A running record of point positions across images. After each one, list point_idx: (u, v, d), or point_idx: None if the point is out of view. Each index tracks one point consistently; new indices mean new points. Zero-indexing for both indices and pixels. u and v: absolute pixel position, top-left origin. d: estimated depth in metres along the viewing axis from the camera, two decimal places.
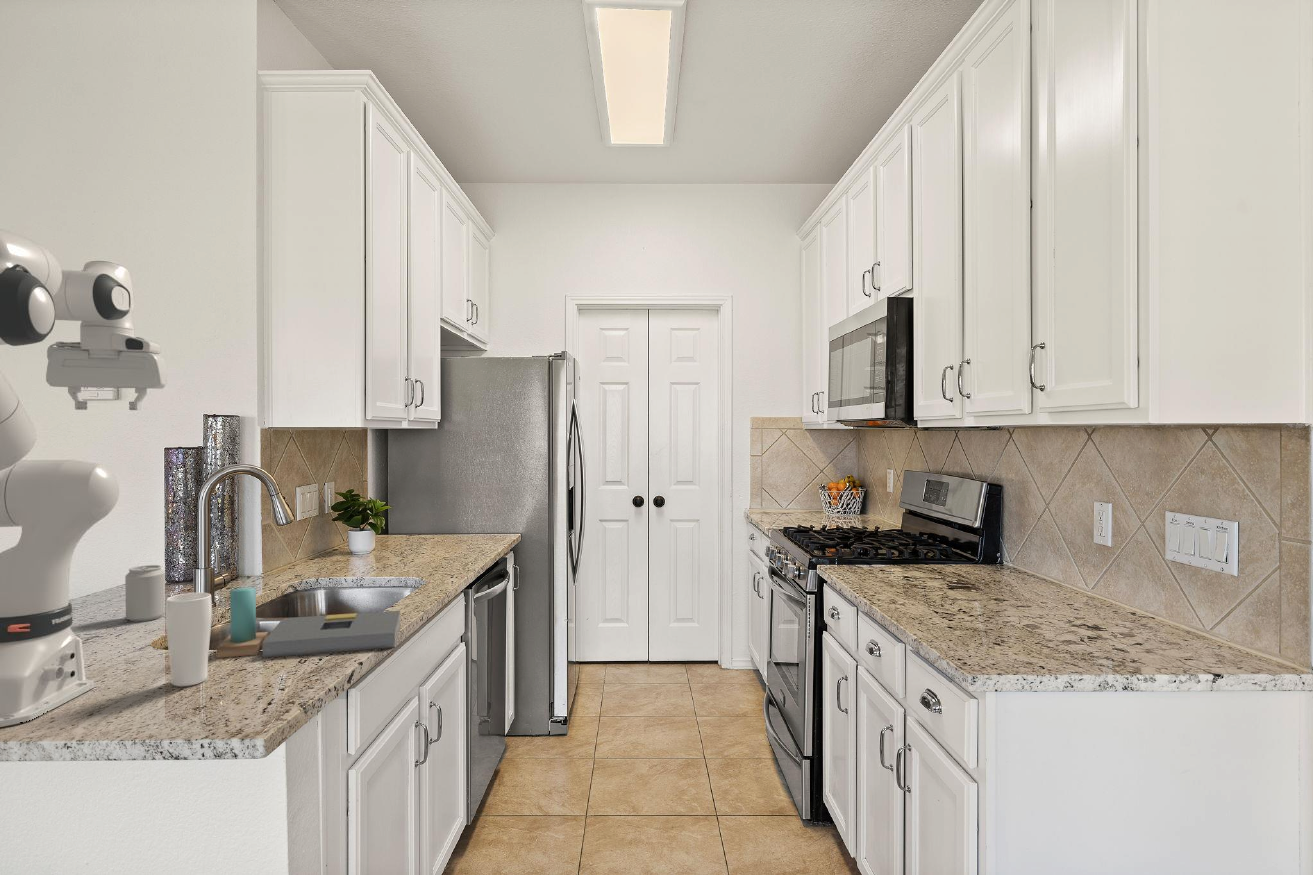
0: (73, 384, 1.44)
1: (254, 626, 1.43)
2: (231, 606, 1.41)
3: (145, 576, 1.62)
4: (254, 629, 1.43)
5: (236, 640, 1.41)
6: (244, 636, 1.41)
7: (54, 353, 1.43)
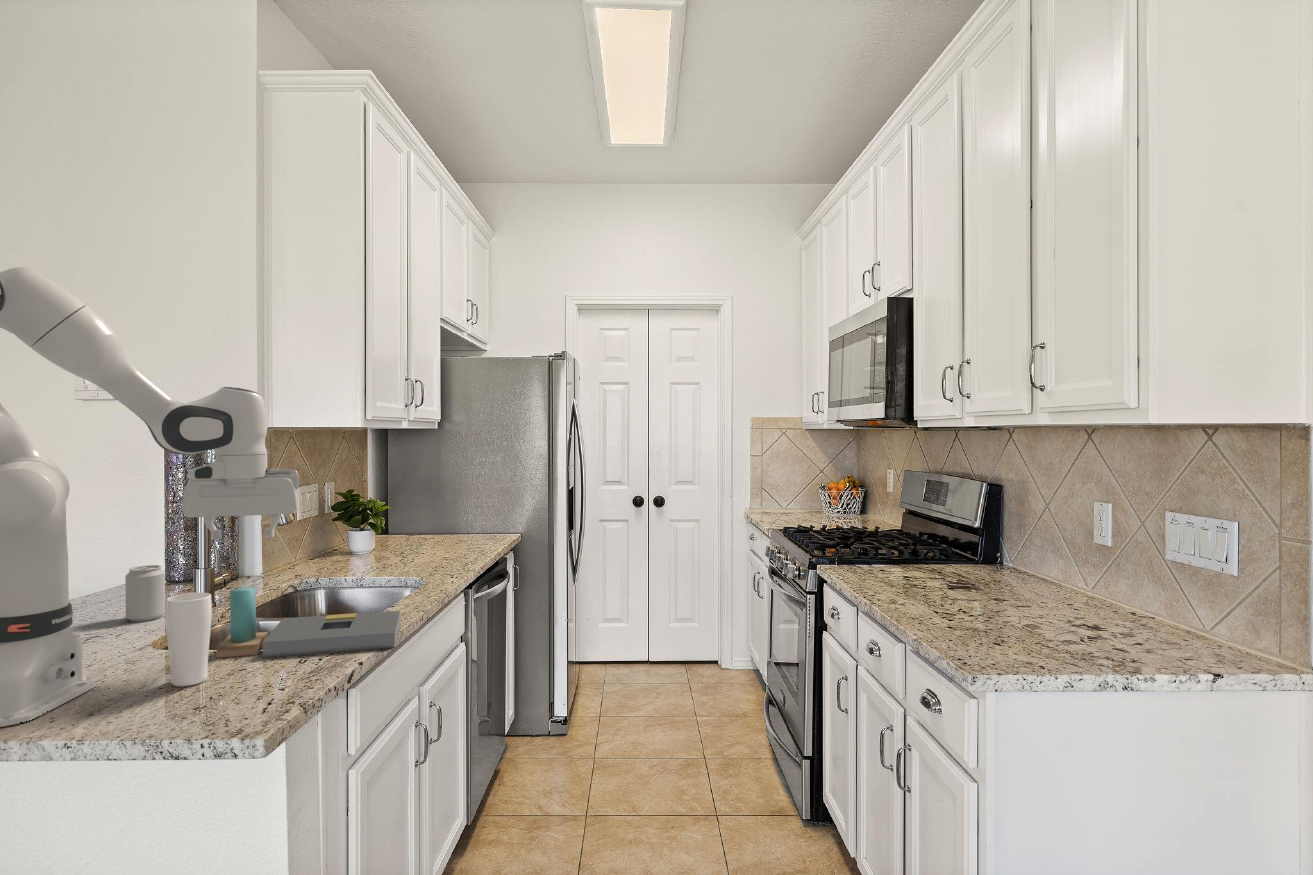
0: None
1: (254, 626, 1.43)
2: (231, 606, 1.41)
3: (145, 576, 1.62)
4: (254, 629, 1.43)
5: (236, 640, 1.41)
6: (244, 636, 1.41)
7: None
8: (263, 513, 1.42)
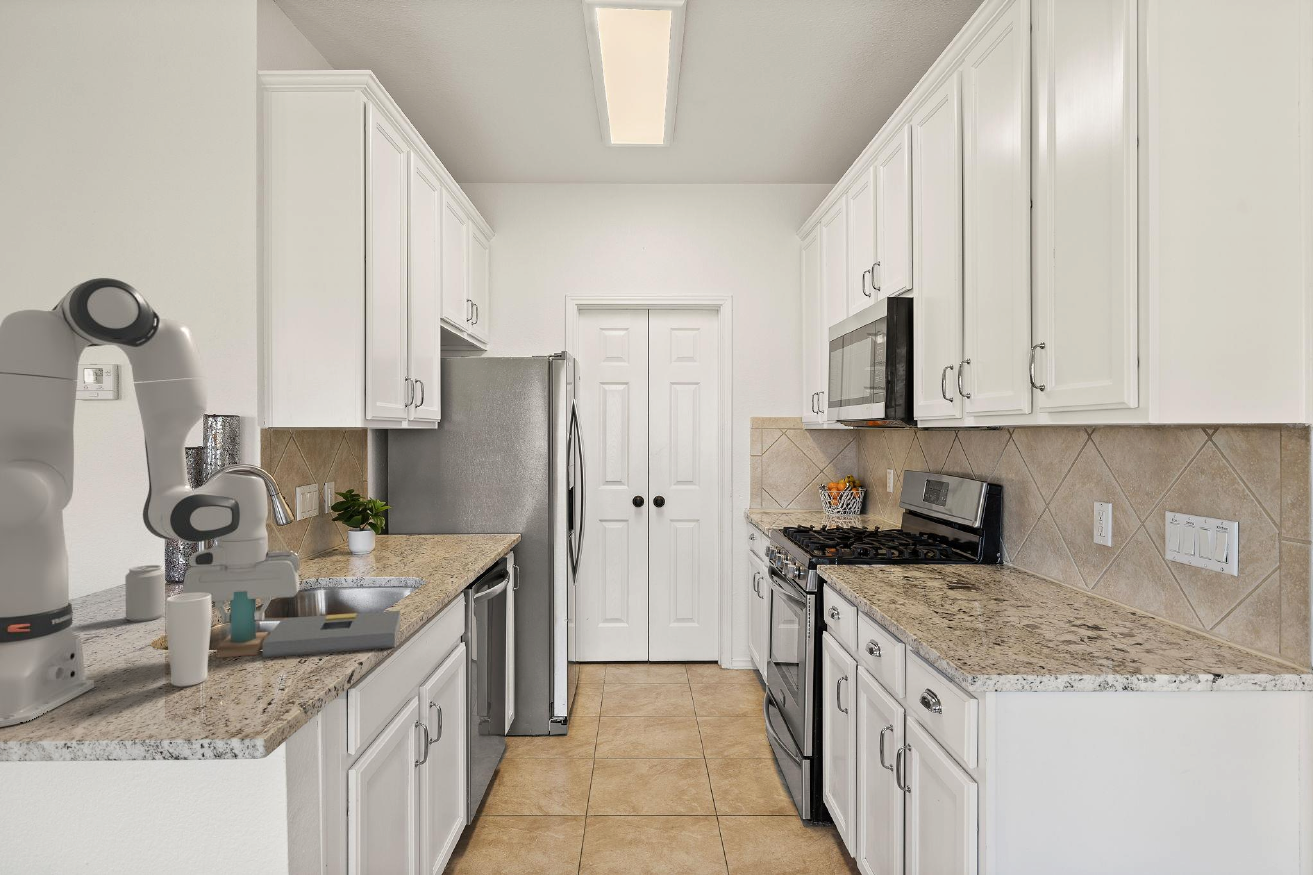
0: None
1: (254, 626, 1.43)
2: (231, 606, 1.41)
3: (145, 576, 1.62)
4: (254, 629, 1.43)
5: (236, 640, 1.41)
6: (244, 636, 1.41)
7: None
8: (263, 597, 1.42)
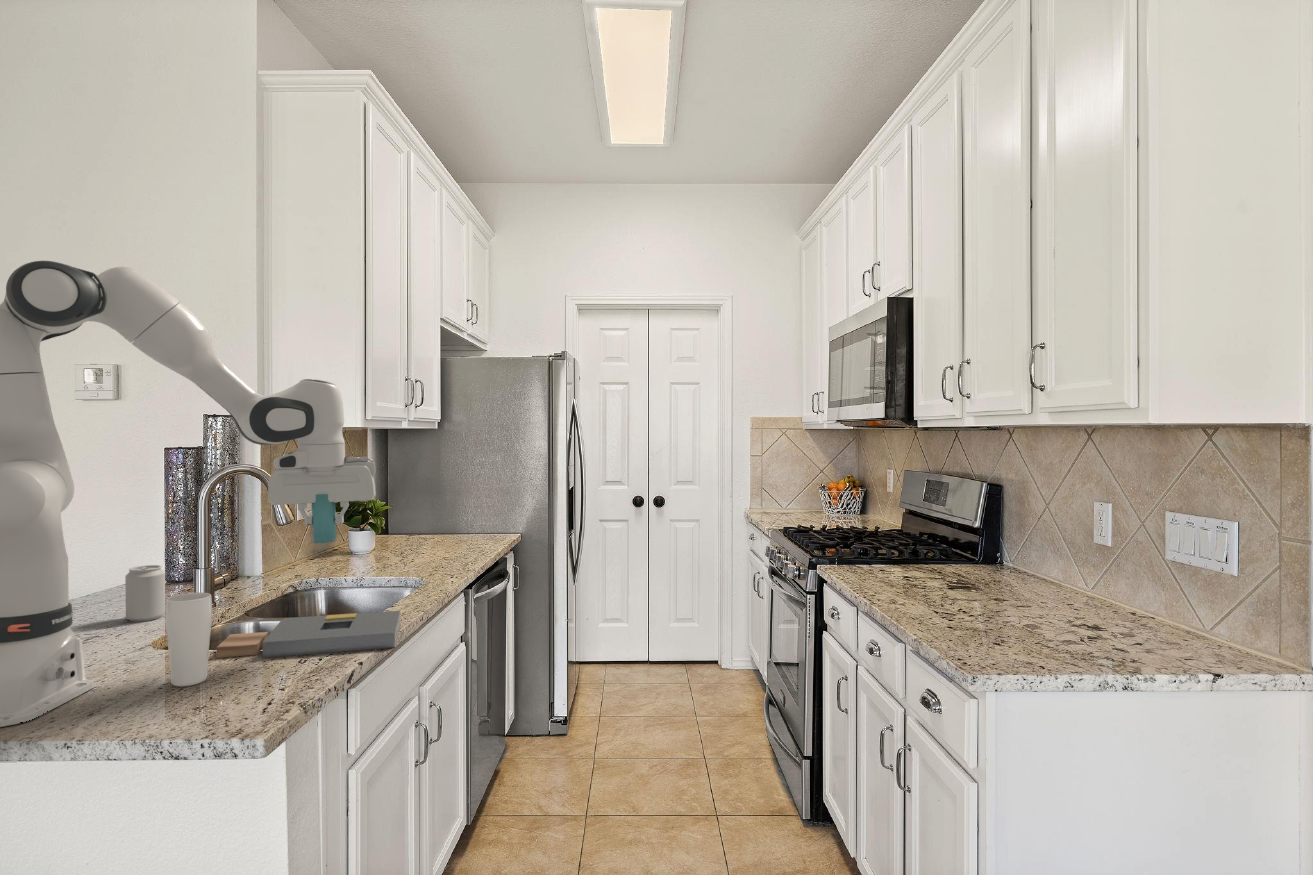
0: None
1: (335, 529, 1.49)
2: (313, 508, 1.47)
3: (145, 576, 1.62)
4: (335, 531, 1.49)
5: (319, 541, 1.46)
6: (327, 536, 1.47)
7: None
8: (343, 500, 1.48)
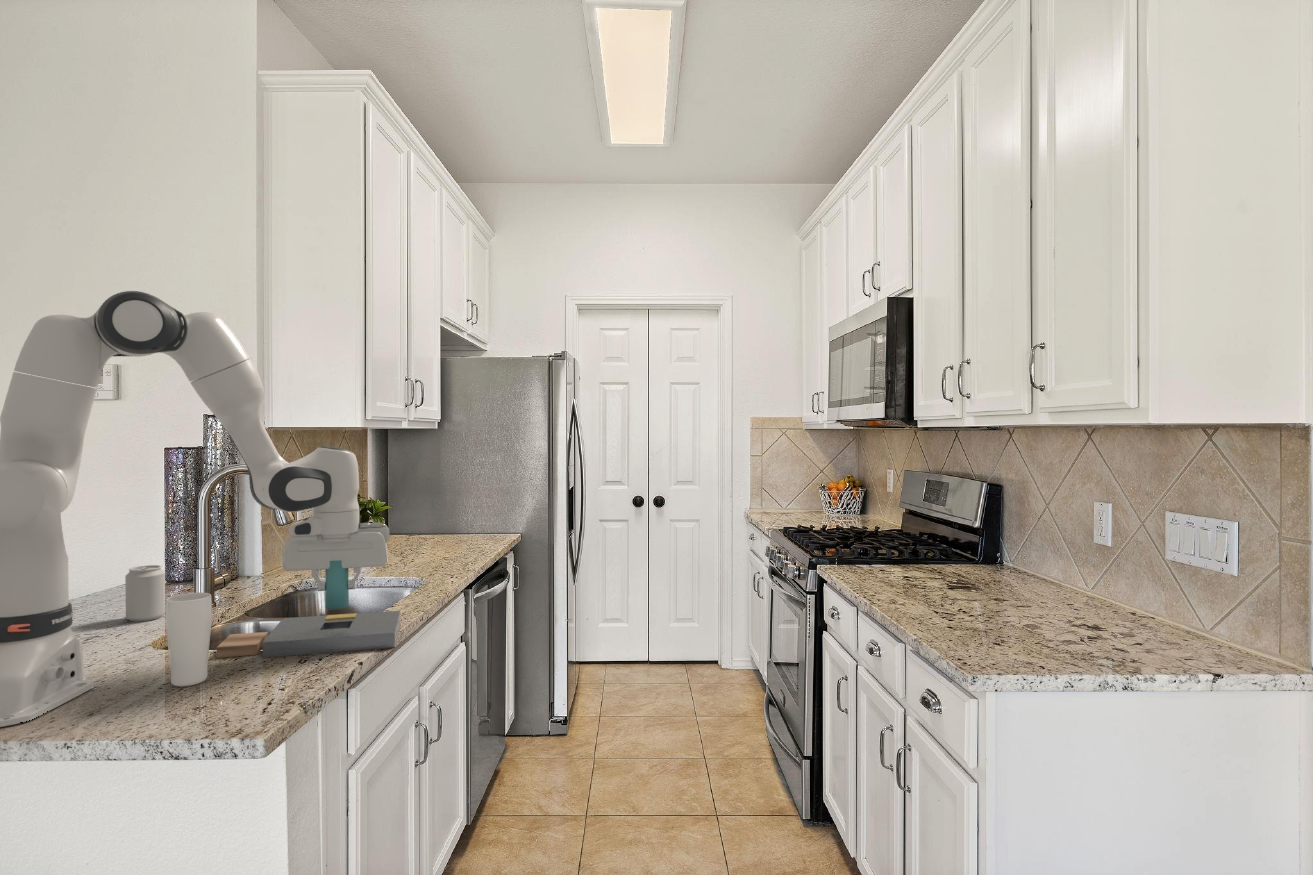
0: None
1: (347, 594, 1.50)
2: (326, 574, 1.48)
3: (145, 576, 1.62)
4: (347, 597, 1.49)
5: (332, 607, 1.47)
6: (339, 603, 1.48)
7: None
8: (356, 566, 1.49)
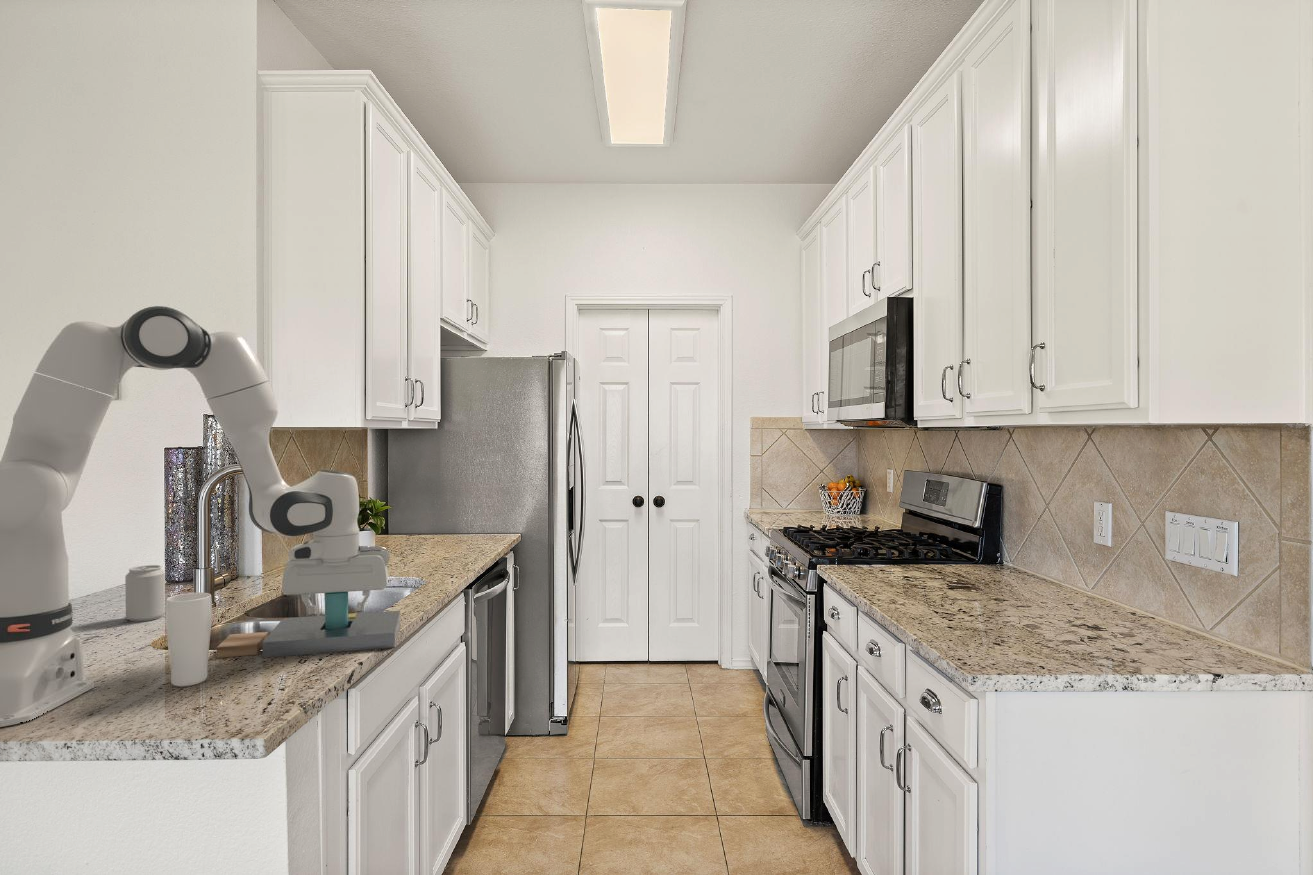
0: None
1: (347, 627, 1.50)
2: (326, 608, 1.48)
3: (145, 576, 1.62)
4: None
5: None
6: None
7: None
8: (356, 589, 1.49)
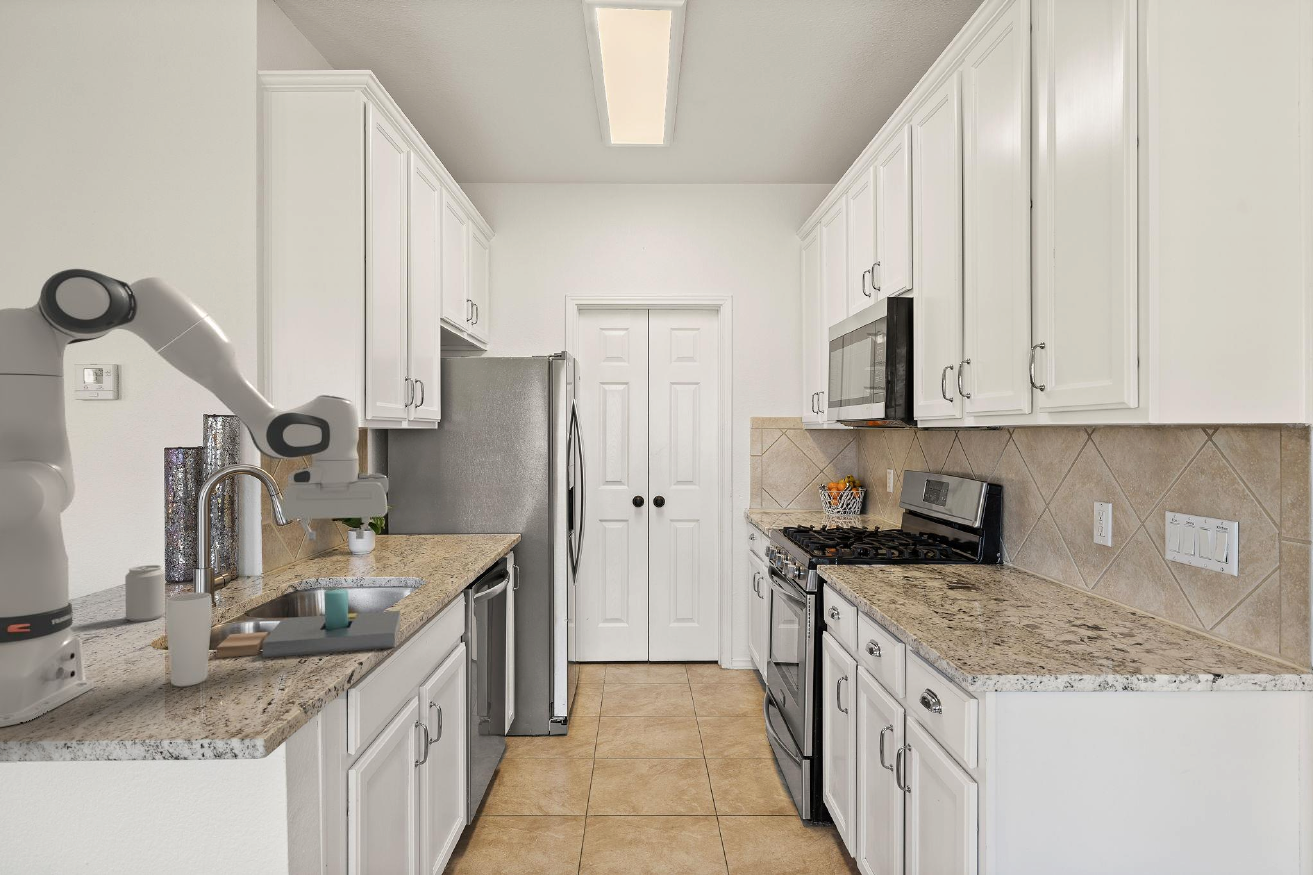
0: None
1: (347, 627, 1.50)
2: (326, 608, 1.48)
3: (145, 576, 1.62)
4: None
5: None
6: None
7: None
8: (355, 516, 1.49)
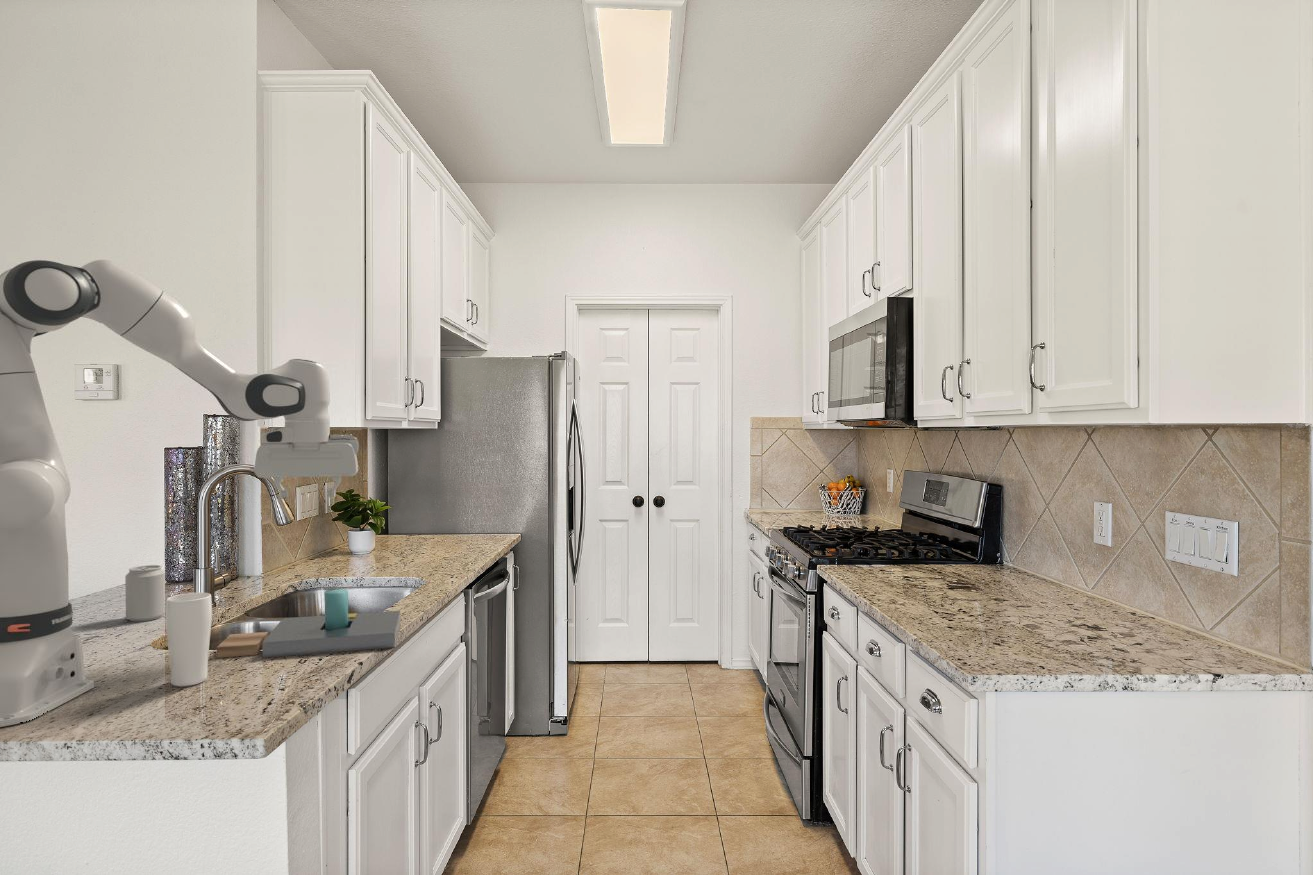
0: None
1: (347, 627, 1.50)
2: (326, 608, 1.48)
3: (145, 576, 1.62)
4: None
5: None
6: None
7: None
8: (326, 475, 1.55)
